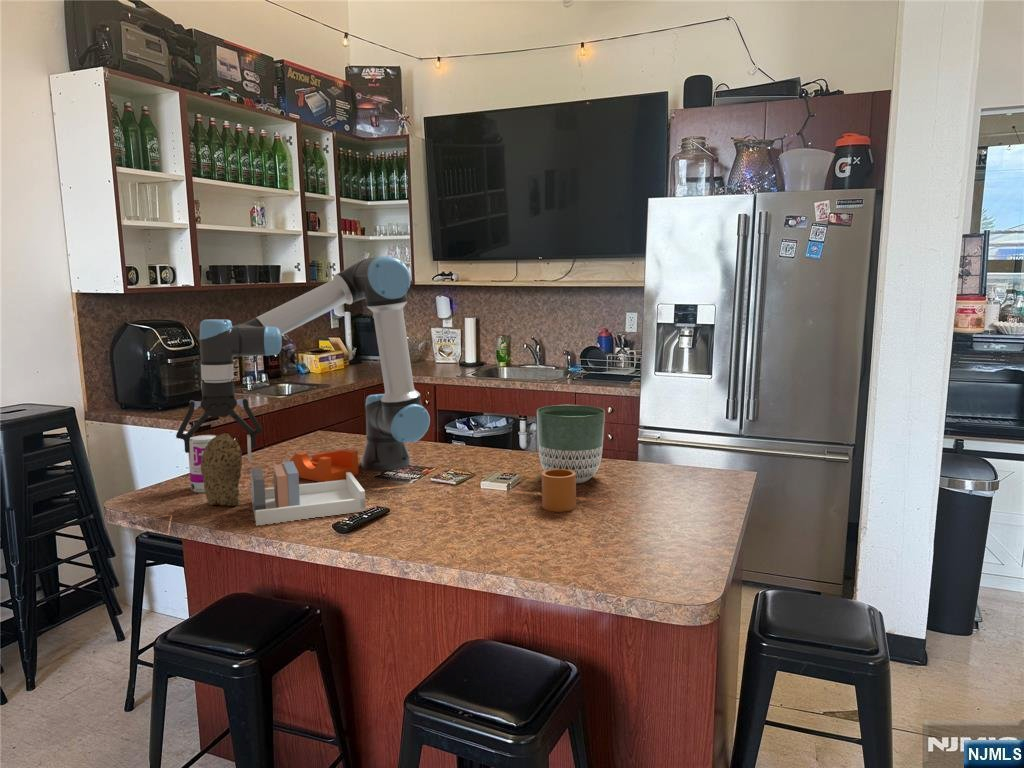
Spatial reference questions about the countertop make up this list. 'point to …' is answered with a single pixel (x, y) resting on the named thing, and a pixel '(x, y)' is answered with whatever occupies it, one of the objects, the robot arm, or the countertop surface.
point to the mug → (558, 490)
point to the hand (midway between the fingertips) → (221, 462)
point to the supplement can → (198, 462)
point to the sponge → (222, 470)
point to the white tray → (315, 501)
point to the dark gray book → (258, 488)
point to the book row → (286, 484)
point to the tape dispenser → (326, 465)
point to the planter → (571, 438)
